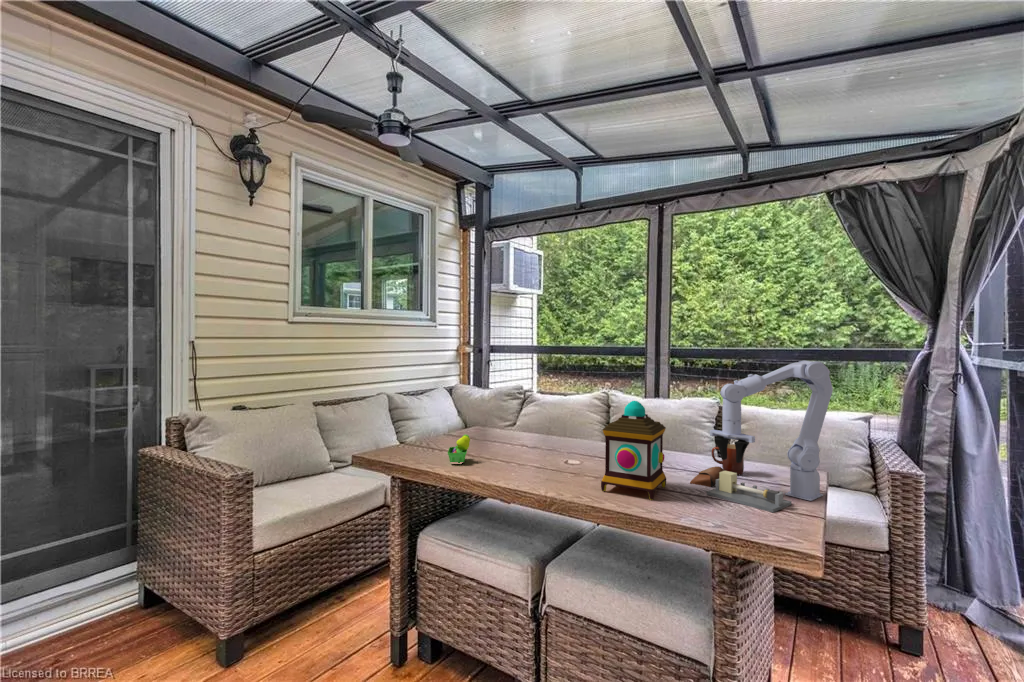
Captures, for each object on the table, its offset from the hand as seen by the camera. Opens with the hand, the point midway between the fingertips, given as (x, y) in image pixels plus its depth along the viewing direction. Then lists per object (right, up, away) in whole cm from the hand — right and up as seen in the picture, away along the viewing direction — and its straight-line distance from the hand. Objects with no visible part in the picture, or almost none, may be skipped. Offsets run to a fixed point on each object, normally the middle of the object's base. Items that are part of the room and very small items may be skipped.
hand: (731, 460), depth 160 cm
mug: (+10, -11, +24) cm, 28 cm away
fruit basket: (-95, -10, +37) cm, 102 cm away
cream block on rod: (-2, -9, -2) cm, 10 cm away
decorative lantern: (-32, -10, +2) cm, 34 cm away
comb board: (+2, -10, -7) cm, 13 cm away
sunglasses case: (-2, -11, +14) cm, 18 cm away
